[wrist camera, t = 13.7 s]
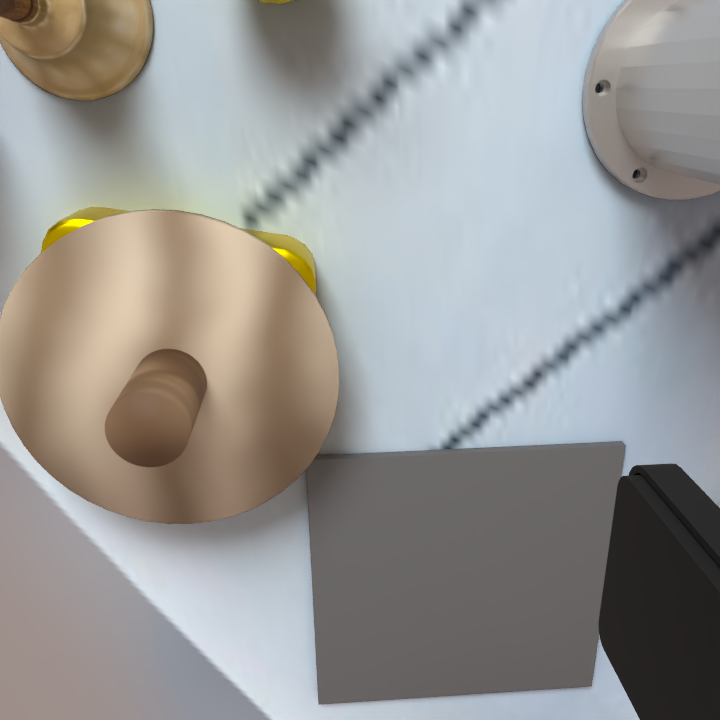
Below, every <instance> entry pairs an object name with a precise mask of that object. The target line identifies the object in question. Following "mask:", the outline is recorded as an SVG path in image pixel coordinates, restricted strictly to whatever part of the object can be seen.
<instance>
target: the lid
mask: <svg viewBox="0 0 720 720" xmlns="http://www.w3.org/2000/svg"><path fill="white" fill-rule="evenodd" d="M0 396H1V400H2V403H3V406H4V409H5V411H6V414H7V416H8V418H9V420H10V422H11V425H12V427H13V429H14V430H15V432H16V433H17V435H18V437H19V438H20V440H21V441H22V443H23V445H24V446H25V447H26V449H27V450H28V451H29V452H30V453H31V455H32V456H33V457H34V458H35V460H36V461H37V462H38V463H39V464H40V465H41V466H42V467H43V468H44V469H45V470H46V471H47V472H48V473H49V474H50V475H51V476H52V477H54V478H55V479H56V480H57V481H59V482H60V483H61V484H63V485H64V486H65V487H67V488H68V489H69V490H71V491H72V492H74V493H76V494H77V495H79V496H81V497H82V498H84V499H86V500H87V501H89V502H91V503H93V504H96V505H98V506H100V507H102V508H104V509H106V510H109V511H112V512H115V513H118V514H121V515H124V516H127V517H131V518H135V519H140V520H144V521H150V522H159V523H167V524H191V523H201V522H210V521H214V520H219V519H223V518H228V517H231V516H234V515H237V514H240V513H243V512H246V511H248V510H250V509H252V508H255V507H257V506H259V505H261V504H263V503H265V502H267V501H268V500H270V499H271V498H273V497H274V496H276V495H277V494H279V493H281V492H282V491H283V490H284V489H286V488H287V487H288V486H289V485H290V484H292V483H293V482H294V481H295V480H296V479H297V478H298V477H299V476H300V475H301V474H302V473H303V472H304V471H305V470H306V468H307V467H308V466H309V465H310V464H311V462H312V461H313V459H314V458H315V456H316V455H317V454H318V452H319V451H320V449H321V447H322V445H323V443H324V441H325V439H326V437H327V435H328V433H329V431H330V428H331V425H332V422H333V419H334V416H335V412H336V406H337V401H338V396H339V366H338V356H337V348H336V344H335V340H334V336H333V332H332V329H331V326H330V324H329V321H328V319H327V316H326V314H325V311H324V309H323V307H322V306H321V304H320V302H319V300H318V299H317V297H316V295H315V293H314V292H313V290H312V289H311V288H310V286H309V285H308V284H307V282H306V281H305V280H304V278H303V277H302V276H301V274H300V273H299V272H298V271H297V270H296V269H295V268H294V267H293V266H292V265H291V264H290V263H289V262H288V261H287V260H286V259H285V258H284V257H283V256H282V255H280V254H279V253H278V252H276V251H275V250H274V249H273V248H271V247H270V246H269V245H268V244H266V243H265V242H263V241H261V240H260V239H258V238H256V237H255V236H253V235H252V234H250V233H248V232H247V231H244V230H242V229H240V228H238V227H236V226H233V225H231V224H229V223H227V222H224V221H221V220H218V219H215V218H211V217H208V216H205V215H201V214H196V213H190V212H184V211H178V210H157V209H151V210H140V211H129V212H125V213H120V214H116V215H112V216H107V217H104V218H101V219H99V220H96V221H94V222H91V223H88V224H86V225H83V226H82V227H80V228H78V229H76V230H74V231H73V232H71V233H69V234H67V235H65V236H64V237H62V238H60V239H59V240H58V241H56V242H55V243H54V244H52V245H51V246H50V247H48V248H47V249H46V250H44V251H43V252H42V253H41V254H40V255H39V256H38V257H37V258H36V259H35V260H34V261H33V262H32V263H31V264H30V265H29V266H28V267H27V268H26V269H25V271H24V272H23V274H22V275H21V277H20V278H19V279H18V281H17V282H16V284H15V285H14V287H13V289H12V291H11V293H10V295H9V297H8V299H7V301H6V303H5V305H4V308H3V311H2V314H1V317H0Z"/></svg>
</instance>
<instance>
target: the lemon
mask: <svg viewBox="0 0 720 720" xmlns="http://www.w3.org/2000/svg"><path fill="white" fill-rule="evenodd" d="M259 1H261V2H264V3H275V4H283V3H287V2H290V1H294V0H259Z"/></svg>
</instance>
